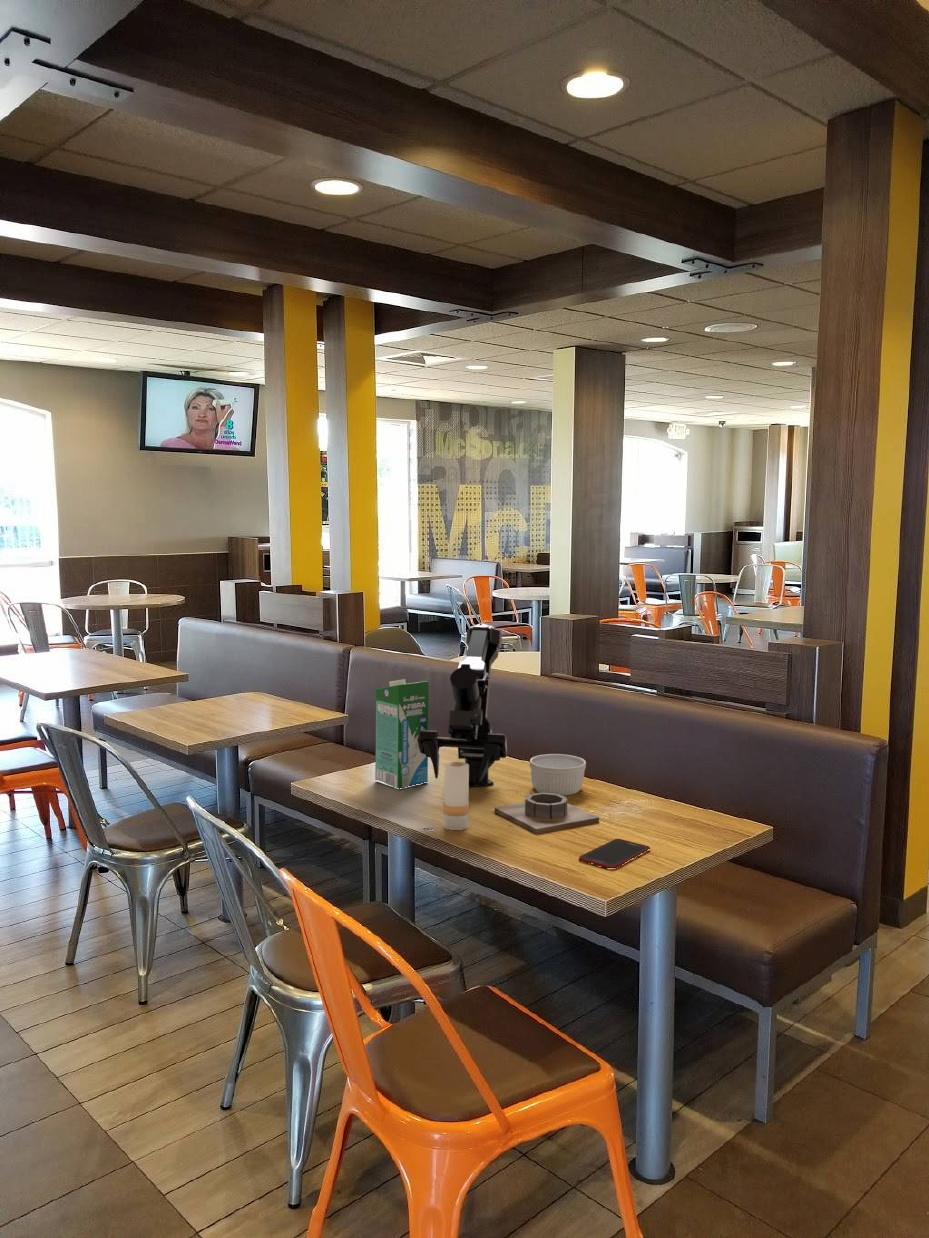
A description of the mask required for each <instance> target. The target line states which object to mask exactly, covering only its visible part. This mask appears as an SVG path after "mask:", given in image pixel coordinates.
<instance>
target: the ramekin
mask: <svg viewBox="0 0 929 1238" xmlns="http://www.w3.org/2000/svg"><path fill="white" fill-rule="evenodd" d="M529 767H530V776H531V784H532V787H533V788H534V789H535V791H536V792H537V793H554V794H559V795H562V796H571V795H575V794H577V793H579V792H580V790H582V787H583V782H584V777H585V770H586V768H587V761H586V760H585V759H584V758H582V757H579V756H575V755H571V754H564V753H563V754H562V753H546V754H539V755H536V756H533V757H531V758H530V760H529Z"/></svg>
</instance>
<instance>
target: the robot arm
mask: <svg viewBox="0 0 929 1238" xmlns="http://www.w3.org/2000/svg"><path fill="white" fill-rule="evenodd" d="M502 635H503V634H502V632H501V631H500V630H498V629H495V628H493V627H491V626H489V625H480V624H479V625H478V624H477V625H476V624H474V625H472V626H470V628H468V629H466V639H465V641H466V642H465V645H466V646H467V651H466V655H465V656H466V657H465V659H464V660H461V661H460V662H458V665H457V668H456V669H454V671H452V673H451V674H450V676H449V679H450V687H451V692H452V693H451V694H452V697H453V700H454V705H453V710H449V714H448V725H447V726H448V729H447V730H448V731H447V732H448V735H449V737H445V736H444V737H443V736H439V732H438V730H431V729H430V730H429V729H428V730H421V731H420V732H419V733H418V738H417V741H418V745H419V749H420V753H422V754H425V756H426V757H428V758H430V760H431V763H432V768H433V773H434V777H435V779H438V778H439V771H440V753H439V752H440V747H442V748H443V747H444V748H457V753H458V754H457V757H458V759H459V760H463V759H464V763H467V764H469V787H470V788H472V787H481V786H490V785H491V786H493V785H494V781H492V780H491V779H489V773H490V772H489V771H490V770H489V769H490V768H491V767H492V766H493V765H494V763H495V762H497V761H500V760H501V759H505V758H507V754H508V744H507V743H508V742H507V736H506V735H505V734H504V733H498V732H497V733H496V732H494V733H493V730H492V727H491V724H490V723H489V721H488V710H489V709H488V707H489V698H490V697H489V695H490V694H489V693H490V684H491V682H492V681H491V679H492V678H491V673H492V665H493V664H494V663H495V661H496V660H497V659H498V657H499V651H500V648H501V649H502V647H503V646H502V645H503V636H502Z"/></svg>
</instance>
